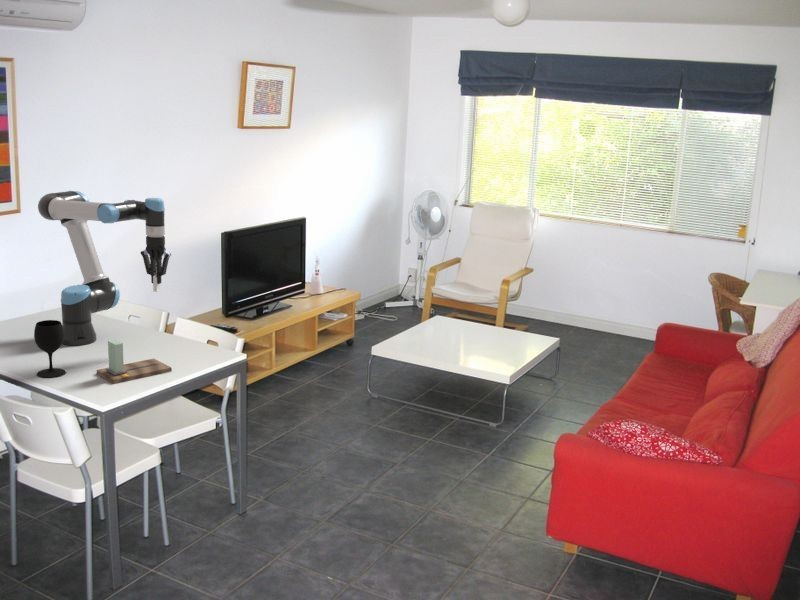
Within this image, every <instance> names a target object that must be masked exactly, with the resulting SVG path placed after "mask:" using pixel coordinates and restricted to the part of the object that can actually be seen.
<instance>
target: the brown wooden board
mask: <svg viewBox="0 0 800 600" xmlns="http://www.w3.org/2000/svg"><path fill="white" fill-rule="evenodd" d="M123 365H124V370H126V371H127V373H123V374H118V375H113V374H111V373H110V372H108V371H106V368H107V367H105V368H99V369H96V374H97V375H98V376H99V377H102V378H103V379H105V380H106V381H108V382H110V383H111V384H113V385H115V384H118V383H123V382H128V381H133V380H139V379H141V378H142V379H143V378H146V377H153V376H156V375H161V374H165V373H169V372H172V370H173V369H172V367H171V366H170V365H167V364H165V363H164V362H161V361H159V360H158V359H156V358H150V359H144V360H139V361H136V362H135V361H134V362H129V363H123Z"/></svg>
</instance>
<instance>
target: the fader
mask: <svg viewBox="0 0 800 600" xmlns="http://www.w3.org/2000/svg"><path fill="white" fill-rule="evenodd" d="M107 351H108V367H105V368H106V371H108V372H110V373H111V374H113V375H118V374H123V373H127V371H126V370H124V344H123V343H122V342H121V341H120V340H119V341H118V340H117V339H111V340H108V341H107Z"/></svg>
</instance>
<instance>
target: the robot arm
mask: <svg viewBox="0 0 800 600" xmlns="http://www.w3.org/2000/svg"><path fill="white" fill-rule="evenodd" d="M37 203H38V204H37V210H38V212H39V214H40V216H41V217H42V218H44V219H46V220H48V221H60V224H61V226H62V227H64V228H65V229H66V231H67V233H68V236H69V239H70V243H71V245H72V248H73V252H74V254H75V257H76V260H77V263H78V266H79V269H80V272H81V275H82V278H83V281H82V284H75V285H70V286H68V287H65V288H63V289H62V290H61V293H60V294H61V295H60V303H61V304H60V306H61V320H62V322H61V324H62V327H63V330H64V340H63V343H62V345H64V346H65V345H66V346H83V345H89V344H92V343H95V342H96V341H97V333H96V331H95V328H94V325H93V323H92V314H95V313H100V312H102V311H107V310H108V311H109V310H110V309H113V308H114V307H116V306H117V305H118V304H119V301H120V298H121V295H120V294H121V293H120V289H119V287H118V285H117V284H116V283H115V282H113V281H111V279H110V277H109V276H107V275H105V273H104V270H103V267H102V264H101V262H100V258H99V255H98V253H97V251H96V247H95V244H94V241H93V238H92V235H91V232H90V228H89V226H88V223H87V222H88V221H92V222H94V221H95V222H101V223H103V224H114V223H118V222H124V221H125V222H127V221H132V220H142V221H145V235H146V237H145V245H146V247H145V249H144V250H141V251H140V255H141V256H142V259H143V263H144V268H145V271H146V274H147V275H150V277H151V280H150V281H151V284H152V287H153V288H152V289H153V290H152V291H153V292H154V293H155V292H156V293H158V292H160V291H161V285H160V284H162V276H164V275H166V274H167V270H168V264H169V261H170V260H169V259H170V258H171V256H172V254H171V252H168V251H167V250H166V247H165V246H166V239H165V238H166V237H165V234H166V231H165V230H166V229H165V201H164V199H162V198H161V197H148V198H145V200H144V201H140V200H136V199H125V200H124V201H123V202H118V203H116V202H115V203H109V202H107V203H105V202H94V201H93V202H92V201H90V200H89V198H88V197H87V196H86V194H84V193H83V192H81V191H79V190H67V191H60V192H49V193H46V194H45V195H44V196H41V198H40V199H39V201H38V202H37Z"/></svg>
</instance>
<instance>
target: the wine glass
mask: <svg viewBox="0 0 800 600" xmlns="http://www.w3.org/2000/svg"><path fill="white" fill-rule="evenodd" d="M33 331H34V332H33V333H34V334H33V337H34V338H33V339H34V342H35V344H36V346H37V347H38V348H39V349H40V350H41V351H43V352H44V353H45V354H47V355H48V361H49V364H48V365H49V368H44V369H42V370H41V369H40V370H39V371H37V373H36V376H37V377H38V378H42V379H52V378H53V379H55V378H59V377H62V376H64V375H65V374H66V373H67V371H66V370H65V369H64V368H57V367H54V366H53V354H54V353H55V352H56V351H58V350H59V348H61V346H62V345H63V344H62V343H63V340H64V330H63V327H62V322H61V321H60V320H58V319H57V320H55V319H47V320H41V321H40V320H39V321H38V322H36V323H35V325H34V330H33Z"/></svg>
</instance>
